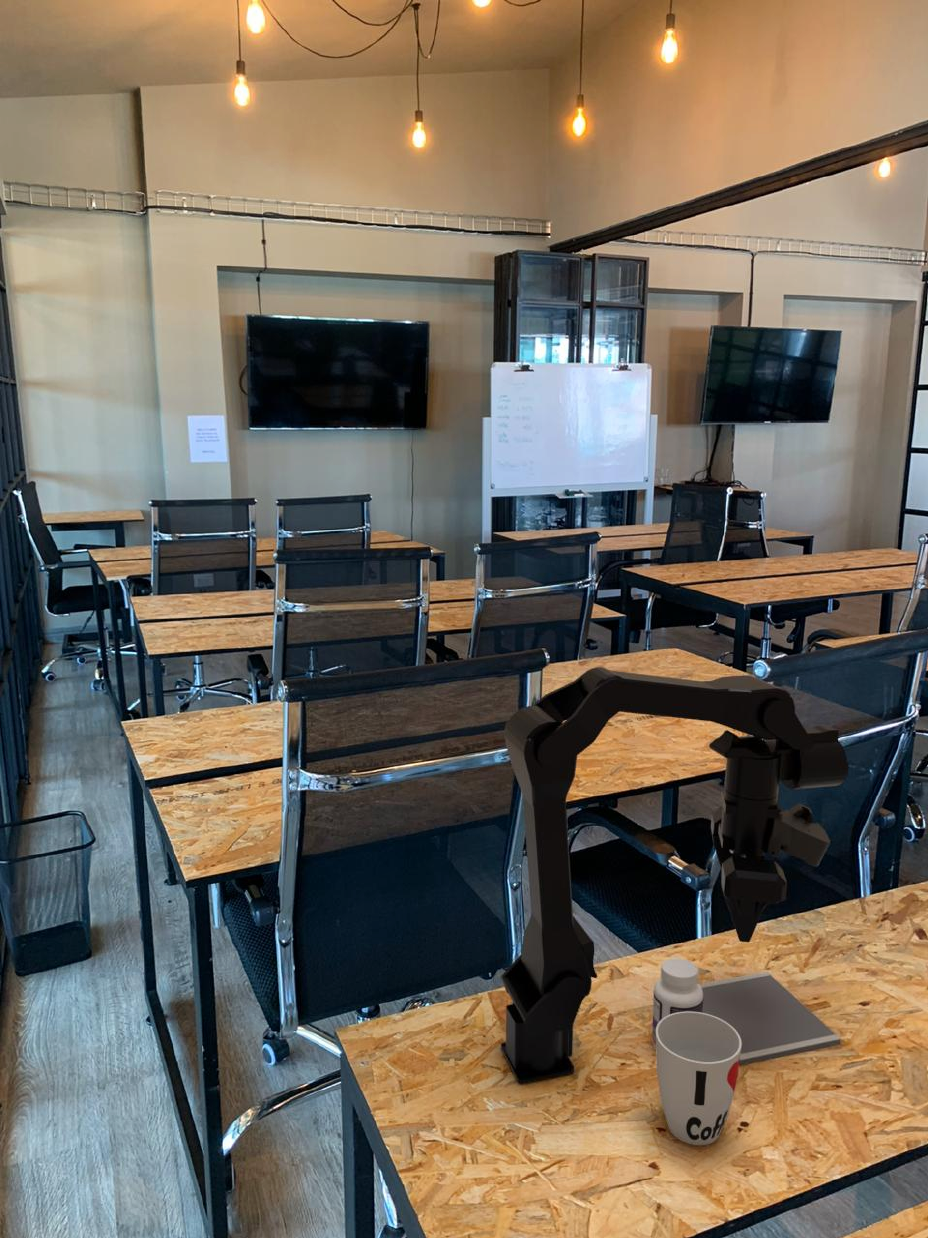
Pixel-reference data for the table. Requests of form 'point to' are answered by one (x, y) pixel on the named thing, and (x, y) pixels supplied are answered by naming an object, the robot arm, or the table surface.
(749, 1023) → the mat
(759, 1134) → the table surface
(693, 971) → the pill bottle
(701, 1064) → the cup
